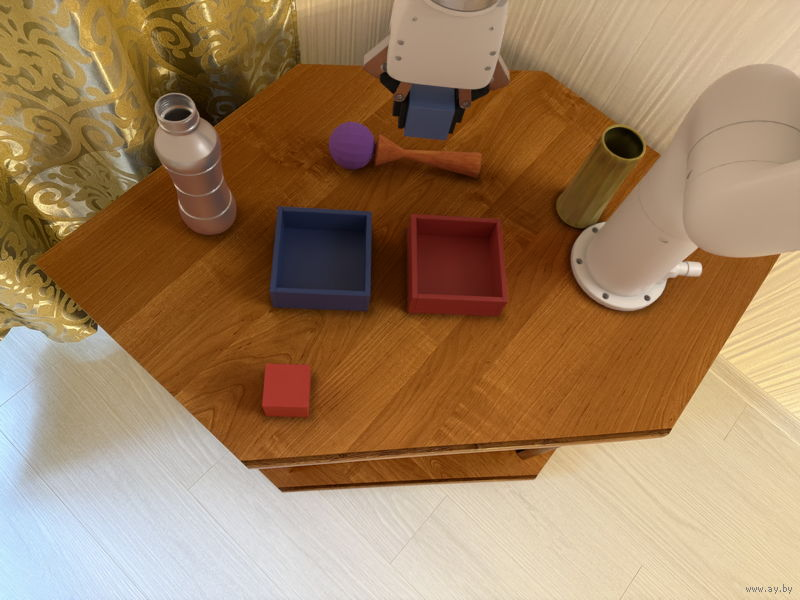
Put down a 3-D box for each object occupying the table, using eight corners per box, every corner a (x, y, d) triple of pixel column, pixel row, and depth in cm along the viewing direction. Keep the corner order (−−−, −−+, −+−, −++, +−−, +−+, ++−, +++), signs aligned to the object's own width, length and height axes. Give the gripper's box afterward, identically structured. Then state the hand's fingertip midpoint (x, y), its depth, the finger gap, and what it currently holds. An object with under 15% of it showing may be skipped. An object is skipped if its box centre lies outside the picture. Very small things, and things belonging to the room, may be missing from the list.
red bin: (492, 236, 77) (501, 218, 73) (498, 316, 73) (508, 301, 69) (406, 232, 76) (411, 213, 72) (407, 312, 72) (412, 297, 68)
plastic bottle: (199, 189, 75) (158, 71, 57) (248, 207, 75) (223, 95, 57) (174, 230, 73) (123, 120, 54) (225, 249, 72) (191, 145, 54)
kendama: (484, 176, 76) (328, 152, 73) (470, 194, 82) (325, 173, 79) (486, 134, 78) (333, 109, 74) (472, 154, 83) (329, 132, 80)
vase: (597, 234, 79) (649, 169, 66) (552, 222, 79) (595, 156, 66) (601, 197, 82) (651, 128, 69) (558, 186, 82) (600, 115, 69)
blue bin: (369, 230, 76) (371, 211, 72) (367, 311, 71) (370, 296, 67) (280, 225, 75) (277, 205, 71) (273, 307, 70) (269, 291, 66)
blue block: (445, 107, 66) (454, 76, 61) (446, 140, 64) (455, 111, 60) (404, 102, 65) (410, 71, 61) (403, 136, 63) (409, 106, 59)
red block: (311, 376, 67) (309, 364, 63) (308, 417, 65) (307, 407, 61) (269, 375, 67) (265, 363, 63) (266, 416, 65) (262, 406, 61)
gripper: (559, -50, 50) (499, 102, 67) (358, -77, 48) (348, 85, 65) (567, 15, 47) (503, 156, 64) (353, -12, 45) (344, 141, 62)
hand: (425, 119), depth 64 cm, fingers closed on blue block, 4 cm apart
